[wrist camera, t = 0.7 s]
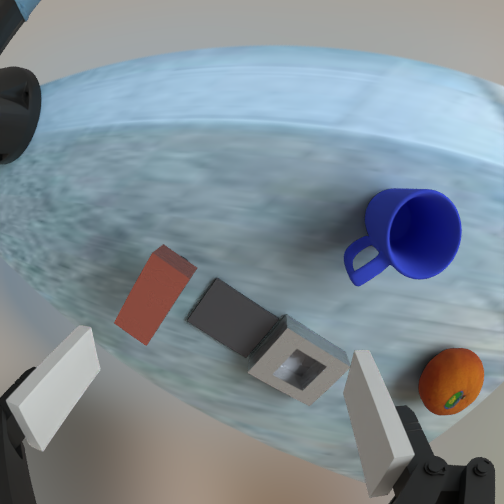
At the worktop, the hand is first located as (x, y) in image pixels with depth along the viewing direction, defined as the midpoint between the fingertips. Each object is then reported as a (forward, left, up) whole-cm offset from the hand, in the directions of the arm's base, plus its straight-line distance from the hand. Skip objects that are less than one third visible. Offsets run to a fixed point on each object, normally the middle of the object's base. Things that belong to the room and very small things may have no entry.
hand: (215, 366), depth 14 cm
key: (-5, -7, -23) cm, 25 cm away
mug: (+11, +11, -23) cm, 28 cm away
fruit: (+35, +2, -23) cm, 42 cm away
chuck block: (+14, -8, -23) cm, 28 cm away
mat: (+4, -9, -23) cm, 25 cm away
